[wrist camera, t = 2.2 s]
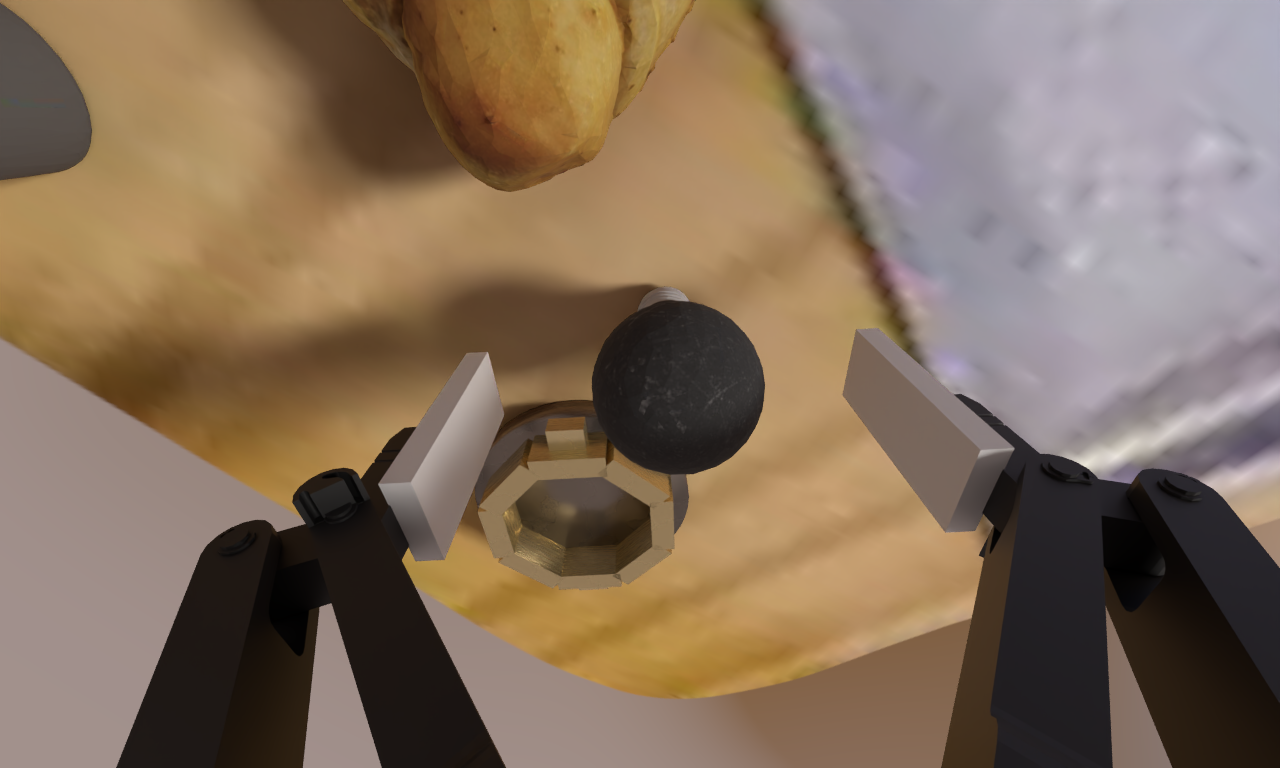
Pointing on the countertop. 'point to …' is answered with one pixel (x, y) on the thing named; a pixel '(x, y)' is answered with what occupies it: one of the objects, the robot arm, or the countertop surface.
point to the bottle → (37, 105)
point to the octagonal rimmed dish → (574, 502)
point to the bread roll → (525, 74)
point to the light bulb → (677, 385)
